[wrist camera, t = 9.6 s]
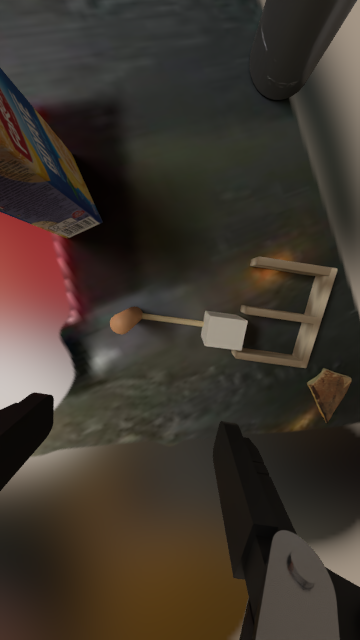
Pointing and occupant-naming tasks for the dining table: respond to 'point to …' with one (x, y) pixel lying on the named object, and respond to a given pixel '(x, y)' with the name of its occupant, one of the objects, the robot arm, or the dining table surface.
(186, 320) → the corded block
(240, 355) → the birch lanes
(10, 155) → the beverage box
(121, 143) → the dining table surface
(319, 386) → the shard
